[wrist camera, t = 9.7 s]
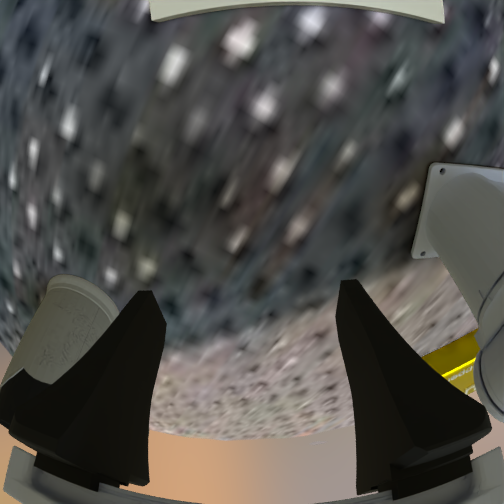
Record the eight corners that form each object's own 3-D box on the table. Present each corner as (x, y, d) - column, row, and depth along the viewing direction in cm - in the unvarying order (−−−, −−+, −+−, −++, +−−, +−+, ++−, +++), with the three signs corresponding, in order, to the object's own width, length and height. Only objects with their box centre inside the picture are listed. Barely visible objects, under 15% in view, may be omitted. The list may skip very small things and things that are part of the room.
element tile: (501, 310, 27) (516, 338, 24) (492, 356, 35) (501, 378, 31) (405, 361, 33) (414, 392, 29) (417, 394, 40) (423, 418, 36)
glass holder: (49, 259, 23) (-27, 399, 11) (182, 325, 27) (155, 481, 15) (46, 309, 27) (-4, 423, 15) (155, 361, 32) (130, 482, 20)
